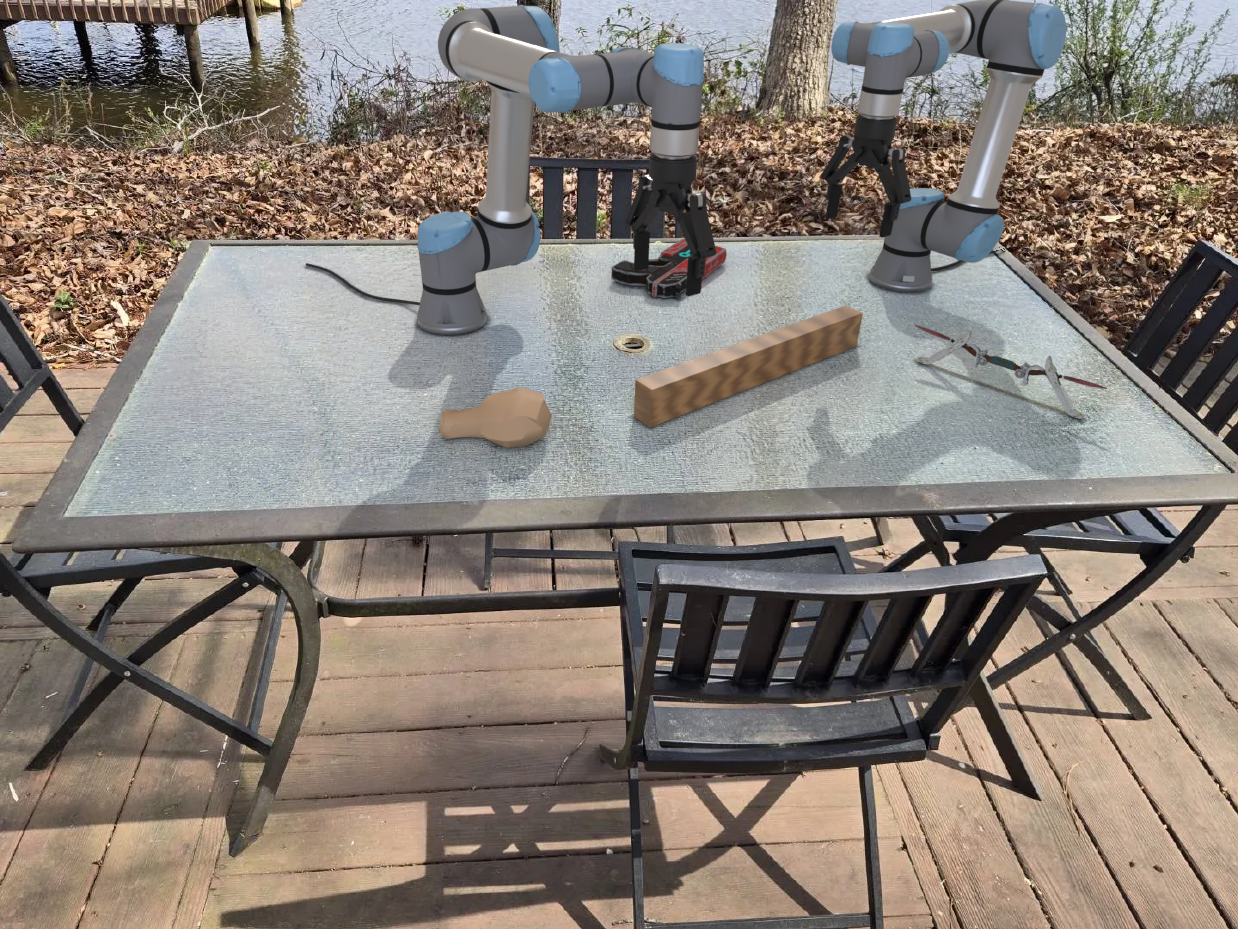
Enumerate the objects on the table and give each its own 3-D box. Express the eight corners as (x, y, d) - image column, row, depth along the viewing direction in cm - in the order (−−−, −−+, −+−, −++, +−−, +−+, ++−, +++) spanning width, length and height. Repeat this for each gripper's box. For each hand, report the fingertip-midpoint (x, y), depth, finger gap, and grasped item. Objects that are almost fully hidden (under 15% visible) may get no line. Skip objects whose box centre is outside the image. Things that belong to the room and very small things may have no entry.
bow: (1096, 421, 167) (1113, 374, 161) (1092, 425, 165) (1110, 378, 160) (909, 355, 188) (919, 312, 182) (905, 358, 187) (915, 315, 181)
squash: (553, 454, 153) (544, 415, 147) (441, 463, 154) (428, 425, 148) (556, 414, 161) (548, 375, 154) (450, 422, 162) (438, 384, 156)
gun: (605, 267, 214) (675, 286, 206) (666, 230, 236) (731, 246, 228) (605, 285, 217) (674, 304, 209) (664, 246, 239) (729, 263, 231)
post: (649, 427, 161) (651, 389, 156) (633, 416, 164) (635, 379, 160) (856, 346, 192) (863, 312, 187) (839, 338, 195) (845, 305, 190)
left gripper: (747, 168, 132) (733, 300, 143) (641, 133, 148) (637, 255, 160) (710, 175, 128) (699, 310, 139) (606, 139, 144) (604, 263, 156)
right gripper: (946, 125, 158) (920, 240, 170) (838, 100, 174) (822, 206, 186) (921, 131, 154) (896, 247, 166) (813, 105, 170) (798, 213, 182)
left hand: (666, 281), depth 150 cm, fingers open, 13 cm apart
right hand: (857, 226), depth 176 cm, fingers open, 13 cm apart
